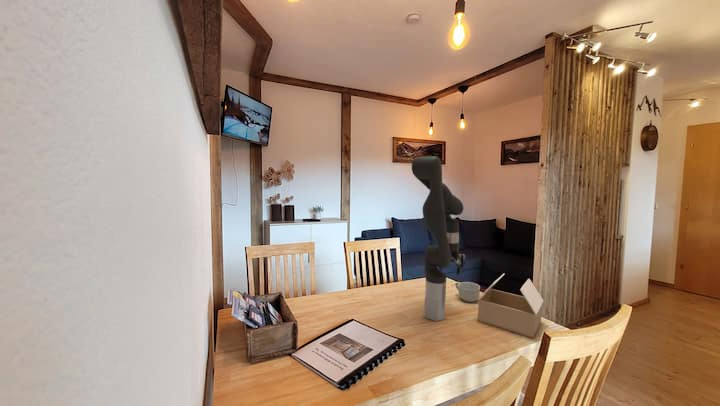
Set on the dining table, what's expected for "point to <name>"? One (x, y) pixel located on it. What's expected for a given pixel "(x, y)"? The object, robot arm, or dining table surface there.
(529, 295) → the flap
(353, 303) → the dining table surface
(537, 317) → the carton
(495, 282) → the flap
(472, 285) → the teacup
